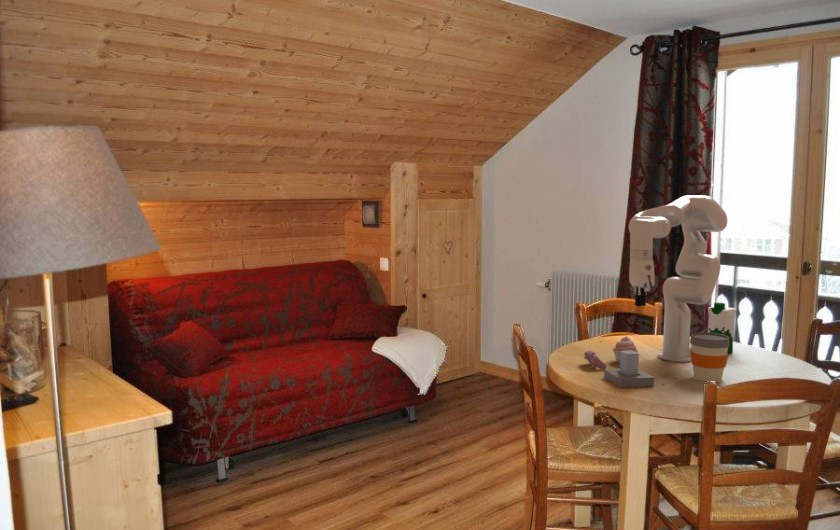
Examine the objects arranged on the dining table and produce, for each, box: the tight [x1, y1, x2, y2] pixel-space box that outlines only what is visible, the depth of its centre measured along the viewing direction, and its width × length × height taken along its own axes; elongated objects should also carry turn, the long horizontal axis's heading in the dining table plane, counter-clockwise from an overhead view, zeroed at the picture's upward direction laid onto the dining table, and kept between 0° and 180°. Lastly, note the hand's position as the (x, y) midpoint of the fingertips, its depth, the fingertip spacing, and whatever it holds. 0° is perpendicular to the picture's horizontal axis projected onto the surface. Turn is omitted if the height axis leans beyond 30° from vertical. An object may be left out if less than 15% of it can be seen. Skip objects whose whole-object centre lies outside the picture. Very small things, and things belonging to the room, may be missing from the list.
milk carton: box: [707, 302, 737, 354], centre depth 272 cm, size 9×9×20 cm
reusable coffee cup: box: [690, 331, 729, 383], centre depth 236 cm, size 13×13×15 cm
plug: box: [619, 350, 640, 376], centre depth 232 cm, size 4×4×10 cm
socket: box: [603, 368, 655, 389], centre depth 232 cm, size 12×12×3 cm
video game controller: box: [583, 350, 608, 370], centre depth 251 cm, size 10×5×7 cm, turn 6°
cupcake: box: [612, 336, 639, 364], centre depth 257 cm, size 9×9×10 cm
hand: (640, 305), depth 241 cm, fingers closed
